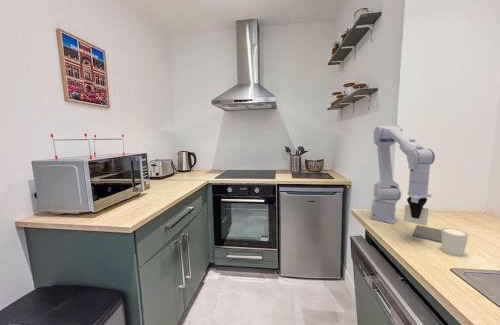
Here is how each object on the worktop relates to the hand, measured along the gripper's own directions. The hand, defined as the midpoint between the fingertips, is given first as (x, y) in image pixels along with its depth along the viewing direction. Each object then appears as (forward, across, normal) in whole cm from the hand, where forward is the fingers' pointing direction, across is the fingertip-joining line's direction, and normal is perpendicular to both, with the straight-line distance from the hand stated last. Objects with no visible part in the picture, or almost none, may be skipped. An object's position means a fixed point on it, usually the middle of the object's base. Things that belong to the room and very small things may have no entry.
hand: (415, 217), depth 85 cm
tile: (+2, 0, 0) cm, 2 cm away
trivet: (+9, +10, -6) cm, 14 cm away
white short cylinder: (+9, -2, -11) cm, 14 cm away
